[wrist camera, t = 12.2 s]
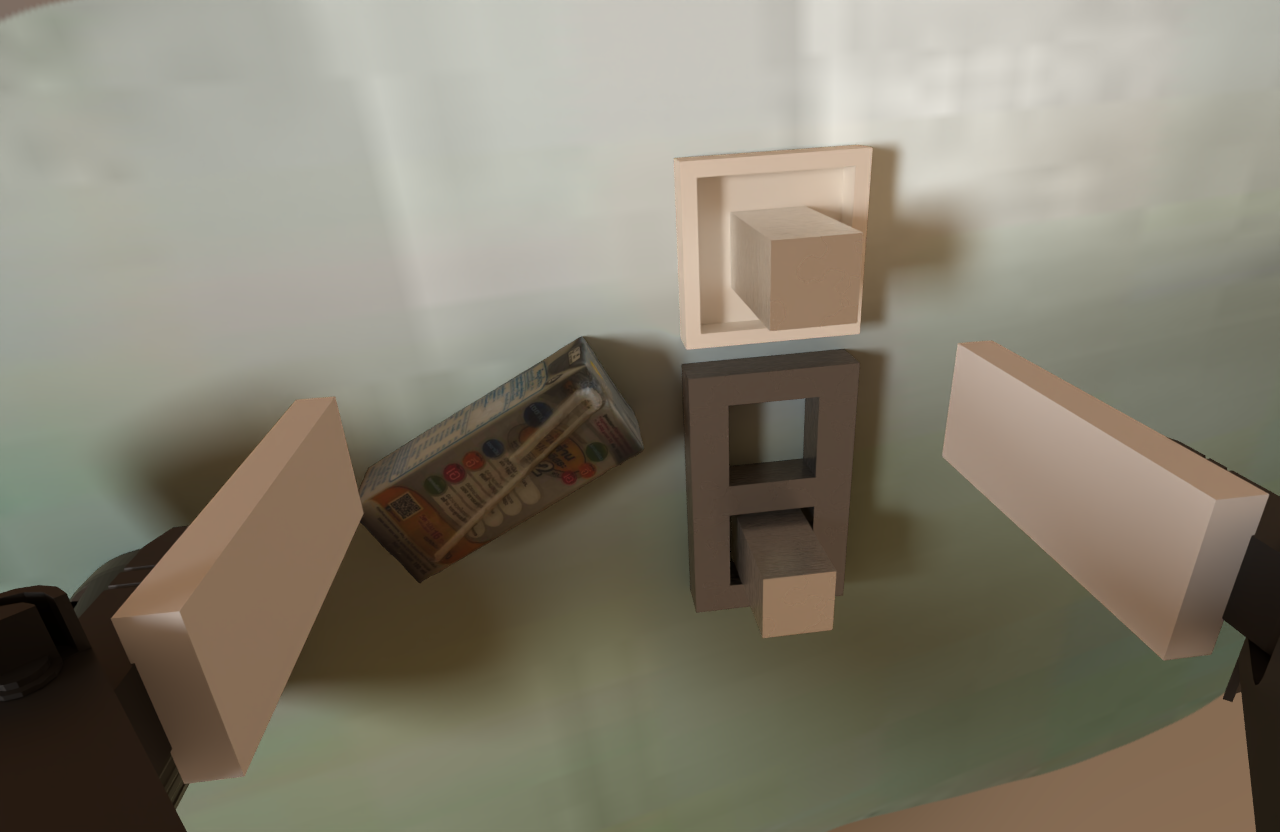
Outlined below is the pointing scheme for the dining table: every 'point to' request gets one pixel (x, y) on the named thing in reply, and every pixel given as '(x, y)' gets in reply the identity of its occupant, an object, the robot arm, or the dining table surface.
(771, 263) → the tan rectangular block
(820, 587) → the beige rectangular block
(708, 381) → the rack
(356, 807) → the dining table surface
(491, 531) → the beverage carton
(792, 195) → the tray
